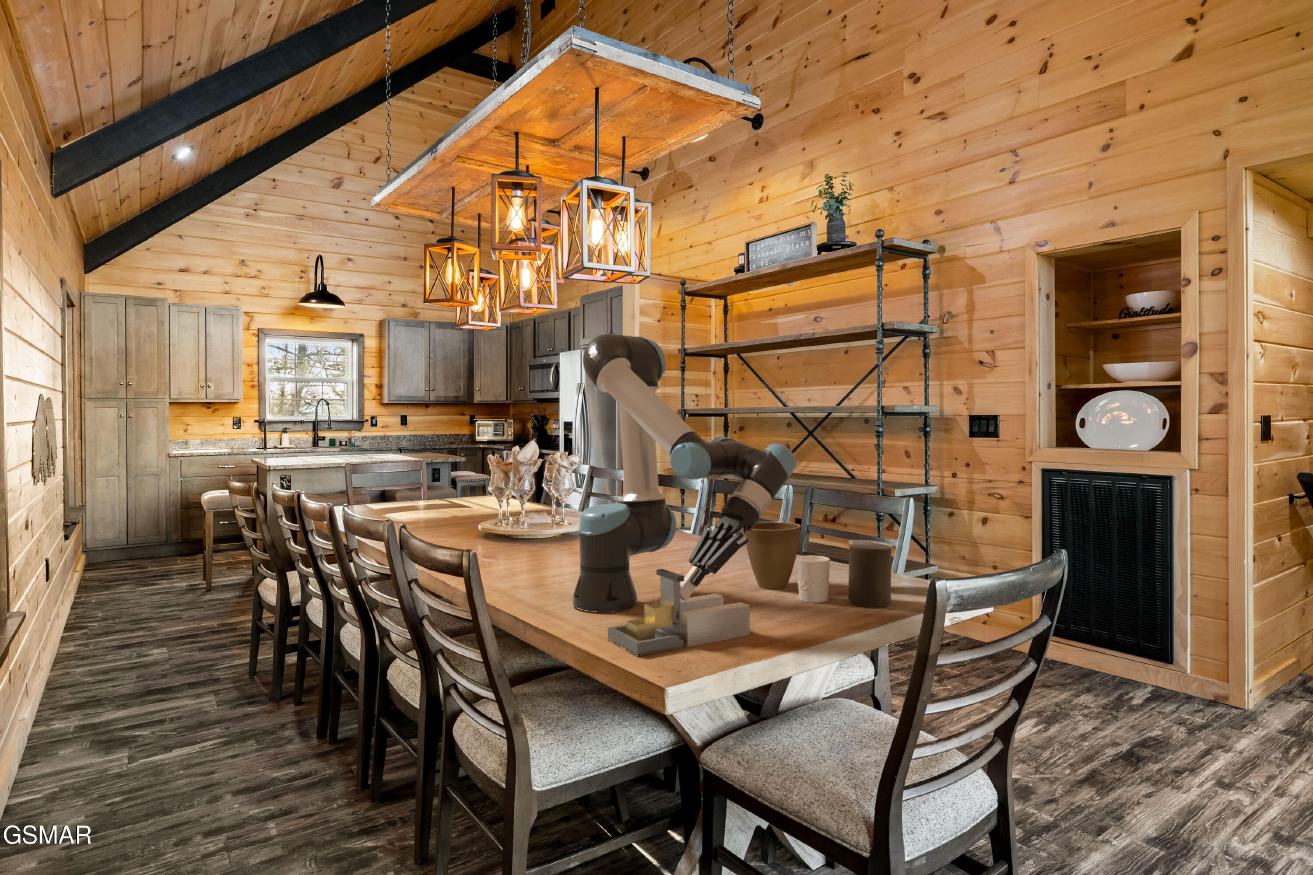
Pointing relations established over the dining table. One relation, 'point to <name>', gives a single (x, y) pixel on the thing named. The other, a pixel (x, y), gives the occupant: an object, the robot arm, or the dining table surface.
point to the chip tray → (644, 641)
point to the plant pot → (773, 552)
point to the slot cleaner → (670, 590)
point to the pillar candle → (869, 574)
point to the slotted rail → (710, 620)
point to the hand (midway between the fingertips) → (680, 595)
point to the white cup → (813, 578)
